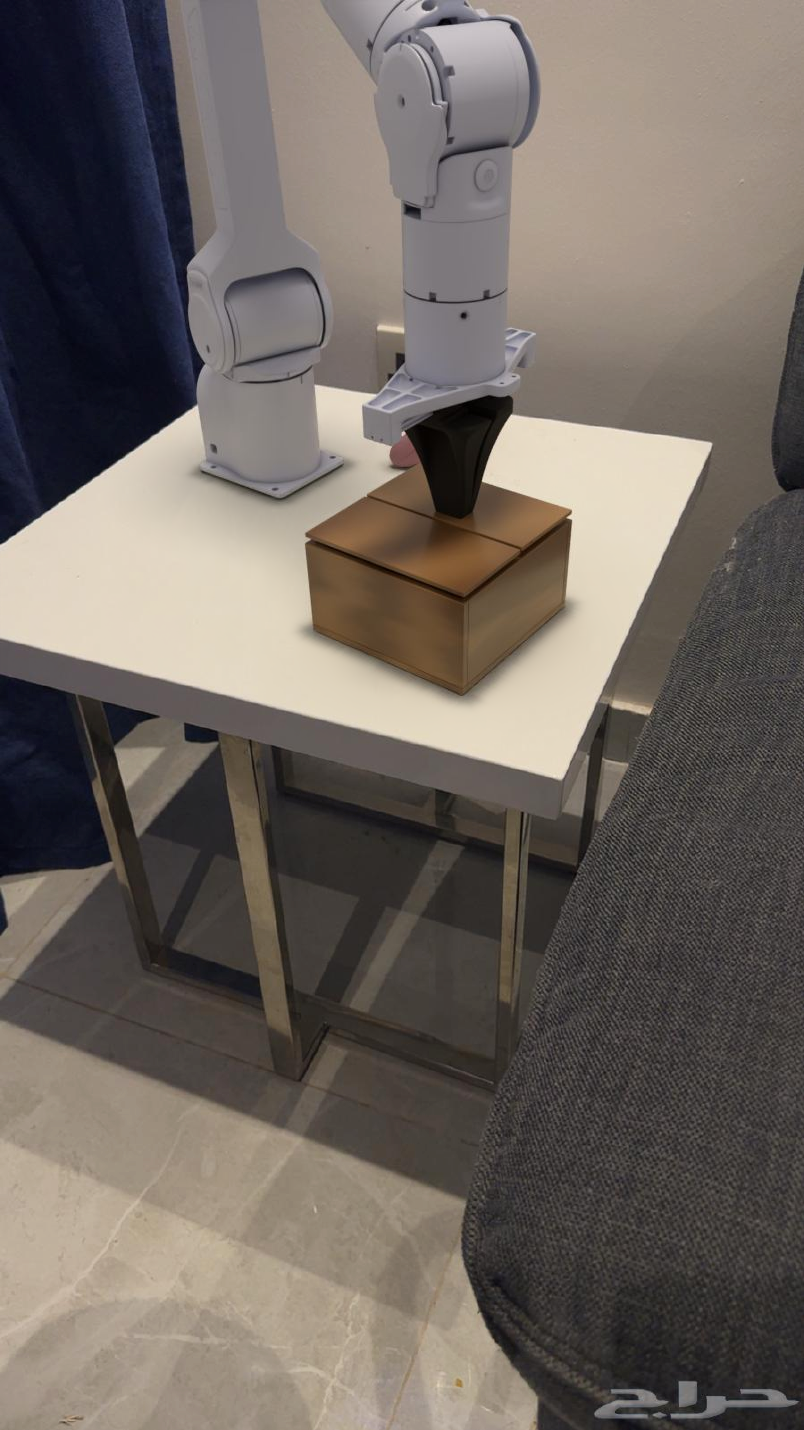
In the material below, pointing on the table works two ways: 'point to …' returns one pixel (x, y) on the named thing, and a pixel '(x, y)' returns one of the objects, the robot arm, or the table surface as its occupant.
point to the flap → (477, 509)
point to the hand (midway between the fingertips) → (454, 511)
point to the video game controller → (404, 453)
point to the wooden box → (431, 590)
